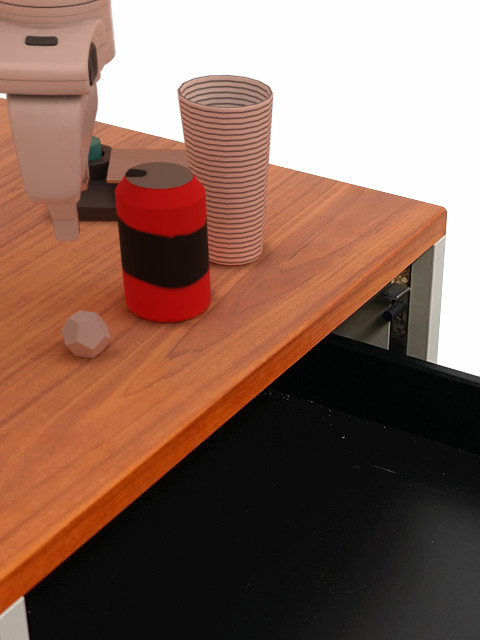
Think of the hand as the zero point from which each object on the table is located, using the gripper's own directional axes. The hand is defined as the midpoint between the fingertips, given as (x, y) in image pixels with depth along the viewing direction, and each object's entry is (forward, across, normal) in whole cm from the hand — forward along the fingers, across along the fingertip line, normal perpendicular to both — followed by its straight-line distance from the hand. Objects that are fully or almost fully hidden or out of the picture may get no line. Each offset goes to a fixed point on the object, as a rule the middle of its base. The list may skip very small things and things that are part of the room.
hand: (73, 211), depth 110 cm
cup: (+13, -19, +12) cm, 26 cm away
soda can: (+13, -9, +6) cm, 17 cm away
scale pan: (+9, -32, +4) cm, 34 cm away
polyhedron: (+13, 0, 0) cm, 13 cm away
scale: (+12, -32, +2) cm, 34 cm away
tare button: (+10, -35, -3) cm, 37 cm away
